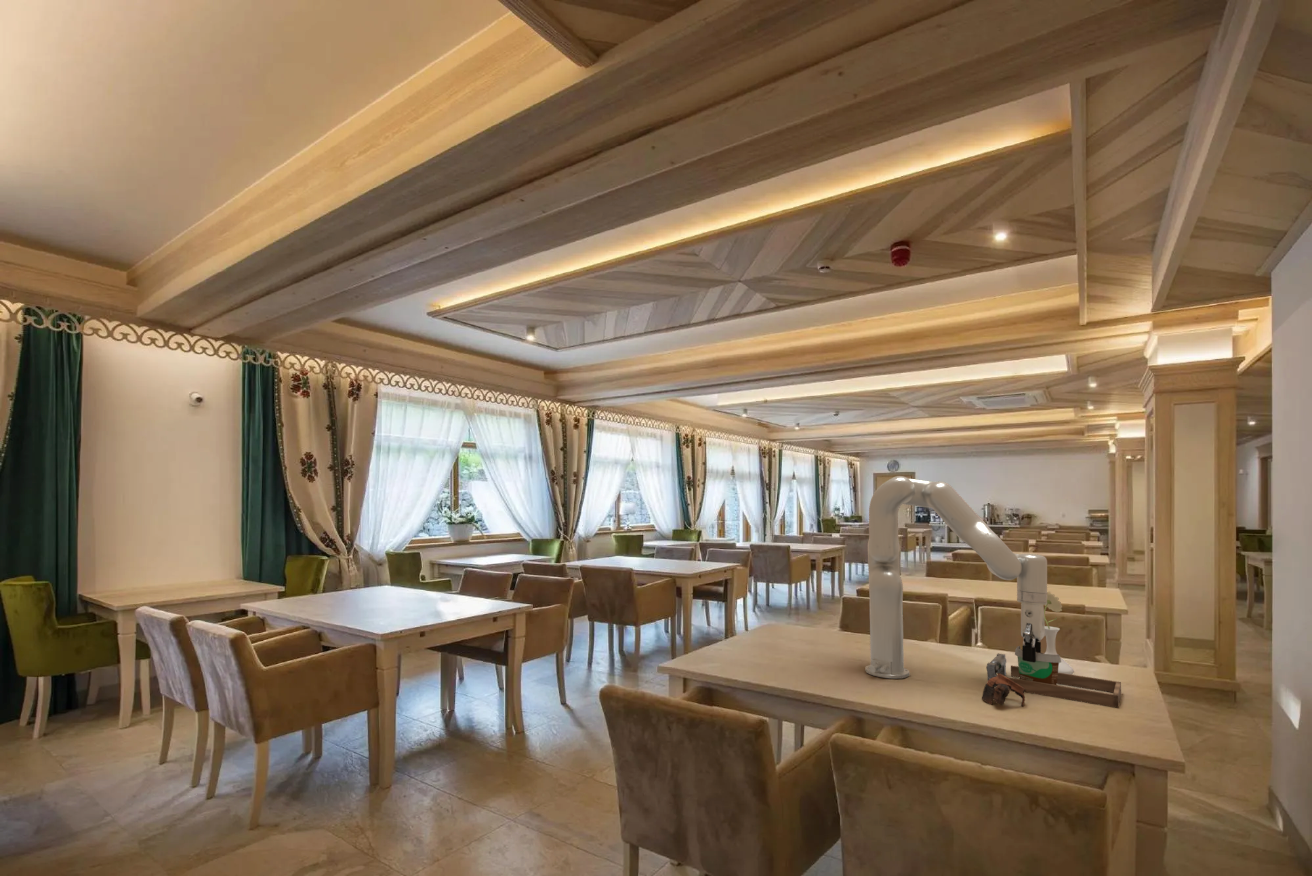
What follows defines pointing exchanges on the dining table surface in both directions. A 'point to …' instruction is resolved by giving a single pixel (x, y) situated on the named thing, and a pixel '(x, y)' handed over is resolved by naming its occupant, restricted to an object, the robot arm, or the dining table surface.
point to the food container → (1039, 667)
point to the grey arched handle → (996, 666)
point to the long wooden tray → (1071, 692)
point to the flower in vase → (1054, 633)
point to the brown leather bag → (1001, 689)
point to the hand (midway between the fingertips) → (1031, 658)
